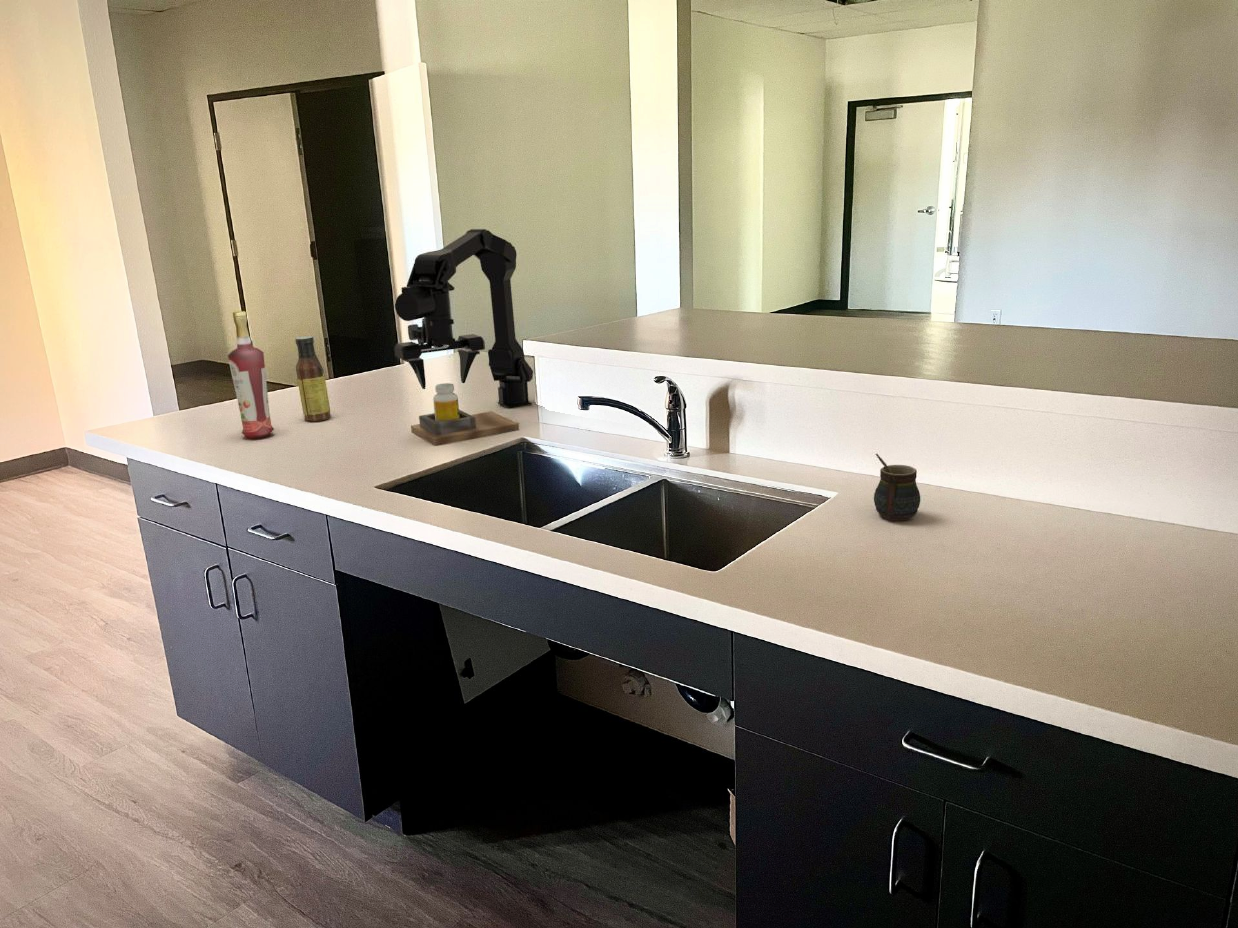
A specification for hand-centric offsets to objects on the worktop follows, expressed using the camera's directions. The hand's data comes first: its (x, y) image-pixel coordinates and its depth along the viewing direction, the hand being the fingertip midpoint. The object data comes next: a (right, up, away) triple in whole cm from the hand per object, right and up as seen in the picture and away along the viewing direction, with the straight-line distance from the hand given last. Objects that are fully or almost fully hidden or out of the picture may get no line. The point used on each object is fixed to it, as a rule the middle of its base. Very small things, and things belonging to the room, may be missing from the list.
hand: (443, 385), depth 197 cm
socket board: (+4, -10, +5) cm, 12 cm away
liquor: (-43, -11, +7) cm, 45 cm away
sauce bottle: (-34, -6, +20) cm, 40 cm away
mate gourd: (+83, -26, -52) cm, 101 cm away
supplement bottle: (0, -9, +3) cm, 10 cm away
